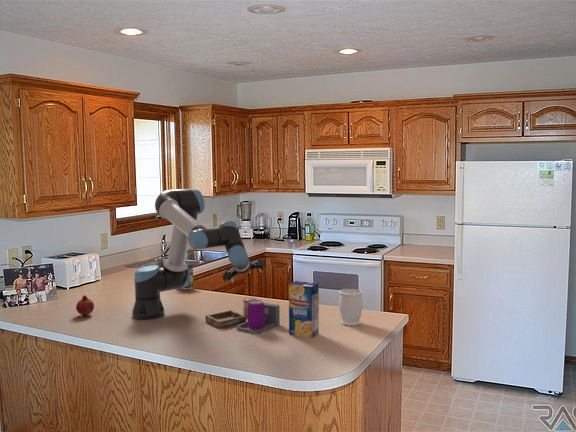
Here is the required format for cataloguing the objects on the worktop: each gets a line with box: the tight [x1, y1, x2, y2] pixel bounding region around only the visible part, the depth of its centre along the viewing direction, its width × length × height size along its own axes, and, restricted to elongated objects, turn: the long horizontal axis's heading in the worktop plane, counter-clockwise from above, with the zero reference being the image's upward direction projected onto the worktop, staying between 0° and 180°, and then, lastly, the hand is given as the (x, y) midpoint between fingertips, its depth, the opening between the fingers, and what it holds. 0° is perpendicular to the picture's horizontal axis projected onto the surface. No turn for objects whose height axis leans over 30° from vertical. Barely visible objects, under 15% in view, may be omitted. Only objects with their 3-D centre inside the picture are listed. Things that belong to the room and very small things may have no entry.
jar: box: [338, 288, 364, 327], centre depth 244 cm, size 11×10×15 cm
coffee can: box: [179, 262, 194, 290], centre depth 316 cm, size 10×10×14 cm
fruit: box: [75, 295, 95, 317], centre depth 260 cm, size 8×8×10 cm
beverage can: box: [247, 299, 266, 331], centre depth 238 cm, size 8×8×12 cm
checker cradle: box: [236, 302, 281, 335], centre depth 240 cm, size 12×16×9 cm
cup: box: [242, 297, 257, 319], centre depth 257 cm, size 6×6×8 cm
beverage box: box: [288, 280, 320, 339], centre depth 229 cm, size 7×11×22 cm, turn 61°
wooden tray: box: [204, 309, 247, 329], centre depth 248 cm, size 13×14×3 cm
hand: (246, 274), depth 249 cm, fingers open, 13 cm apart
